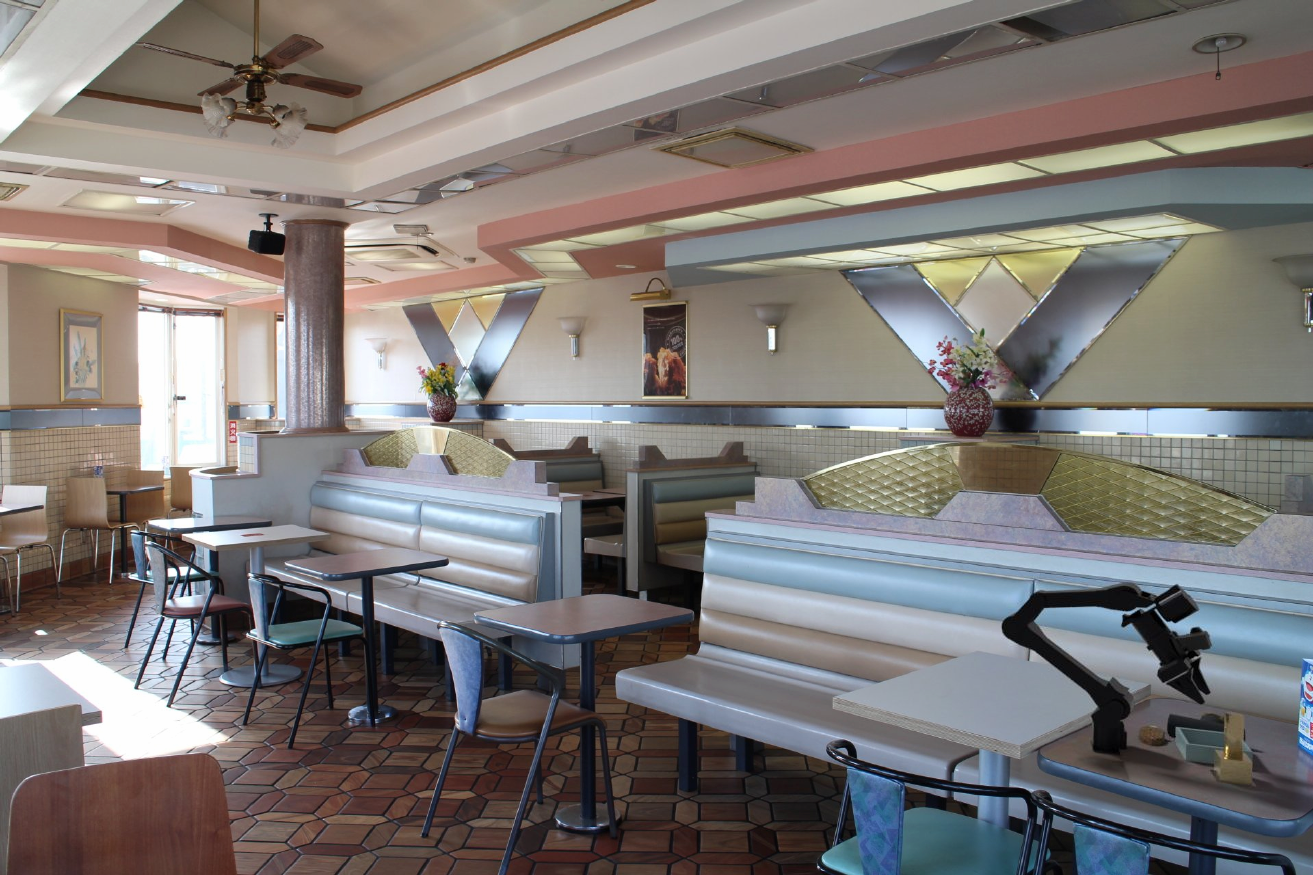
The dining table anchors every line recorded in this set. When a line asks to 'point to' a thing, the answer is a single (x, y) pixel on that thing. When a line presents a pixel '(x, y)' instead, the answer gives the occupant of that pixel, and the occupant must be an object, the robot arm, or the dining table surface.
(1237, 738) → the gold trophy
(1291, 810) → the dining table surface
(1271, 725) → the dining table surface
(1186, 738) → the bin
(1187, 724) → the pipe connector
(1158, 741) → the ice cream bar
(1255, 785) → the plate
